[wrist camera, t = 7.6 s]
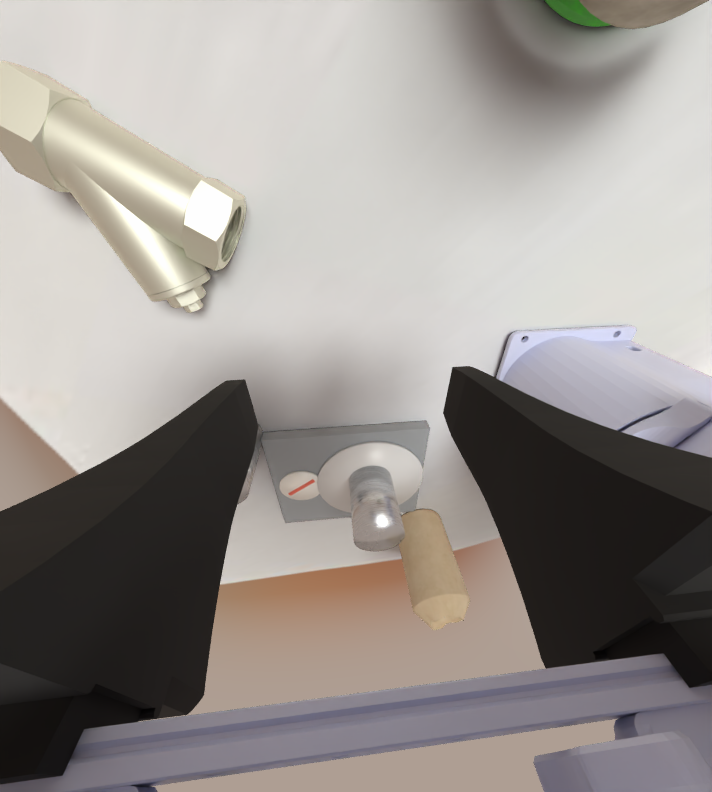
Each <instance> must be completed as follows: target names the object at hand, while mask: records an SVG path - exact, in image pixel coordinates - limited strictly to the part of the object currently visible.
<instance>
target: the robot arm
mask: <svg viewBox="0 0 712 792" xmlns="http://www.w3.org/2000/svg"><path fill="white" fill-rule="evenodd" d="M636 331H637V328H636V327H634V326H631V325H625V326H605V327H586V328H567V329H548V330H529V331H516V332H514V333H512V334H511V335H510V337H509V339H508V342H507V345H506V348H505V352H504V355H503V358H502V361H501V364H500V367H499V370H498V374H497V377H496V378H495V377H493V376H491V375H489V374H486V373H484V372H482V371H480V370H478V369H476V368H473V367H470V366H465V367H453V368H452V373H451V378H450V382H449V387H448V392H447V397H446V402H445V407H444V411H443V414H444V417H445V419H446V422H447V425H448V428H449V431H450V433H451V436H452V438H453V440H454V442H455V443H456V445H457V447H458V449H459V451H460V453H461V455H462V457H463V458H464V460H465V462H466V464H467V466H468V468H469V469H470V471H471V473H472V475H473V477H474V478H475V480H476V482H477V484H478V486H479V488H480V490H481V492H482V494H483V496H484V498H485V500H486V502H487V504H488V507H489V509H490V512H491V514H492V516H493V519H494V521H495V524H496V526H497V529H498V531H499V534H500V536H501V539H502V542H503V544H504V547H505V549H506V552H507V555H508V557H509V560H510V563H511V566H512V568H513V571H514V574H515V577H516V580H517V583H518V585H519V588H520V591H521V594H522V597H523V600H524V603H525V606H526V610H527V613H528V616H529V619H530V622H531V626H532V629H533V632H534V635H535V639H536V642H537V645H538V649H539V652H540V655H541V659H542V661H543V663H544V665H545V668H546V669H540V670H532V671H524V672H517V673H509V674H502V675H495V676H487V677H479V678H471V679H463V680H456V681H449V682H440V683H433V684H426V685H418V686H411V687H403V688H395V689H387V690H379V691H372V692H364V693H357V694H349V695H341V696H334V697H326V698H318V699H311V700H303V701H295V702H288V703H280V704H273V705H265V706H257V707H250V708H242V709H234V710H227V711H219V712H212V713H204V714H196V715H189V716H181V715H187V714H188V713H189V712H191V711H192V710H193V709H194V707H195V706H196V705H197V704H198V703H199V701H200V700H201V698H202V697H203V695H204V690H205V681H206V673H207V666H208V658H209V651H210V644H211V636H212V629H213V623H214V617H215V610H216V603H217V598H218V591H219V586H220V580H221V575H222V570H223V564H224V559H225V554H226V549H227V544H228V539H229V534H230V530H231V525H232V521H233V517H234V514H235V510H236V507H237V504H238V501H239V497H240V494H241V491H242V488H243V485H244V482H245V479H246V476H247V473H248V470H249V466H250V463H251V460H252V457H253V453H254V450H255V444H256V438H257V432H258V423H257V419H256V416H255V412H254V409H253V405H252V402H251V399H250V395H249V392H248V388H247V385H246V381H245V380H230V381H225V382H224V383H222V384H220V385H219V386H217V387H216V388H215V389H213V390H212V391H210V392H209V393H208V394H206V395H205V396H204V397H202V398H201V399H200V400H198V401H197V402H196V403H194V404H193V405H191V406H190V407H189V408H187V409H186V410H185V411H183V412H182V413H181V414H179V415H178V416H176V417H175V418H173V419H172V420H170V421H169V422H167V423H166V424H165V425H163V426H162V427H160V428H159V429H157V430H156V431H154V432H153V433H151V434H150V435H148V436H147V437H145V438H144V439H142V440H140V441H139V442H137V443H135V444H134V445H132V446H130V447H129V448H127V449H125V450H124V451H122V452H120V453H118V454H117V455H115V456H113V457H111V458H110V459H108V460H106V461H104V462H102V463H101V464H99V465H97V466H95V467H93V468H91V469H89V470H87V471H85V472H83V473H81V474H79V475H77V476H75V477H73V478H71V479H69V480H67V481H65V482H63V483H61V484H59V485H57V486H55V487H53V488H51V489H49V490H47V491H45V492H43V493H41V494H38V495H36V496H34V497H32V498H30V499H27V500H25V501H23V502H21V503H19V504H17V505H14V506H12V507H10V508H7V509H5V510H3V511H0V792H157V790H156V788H155V787H151V786H156V785H163V784H170V783H177V782H184V781H191V780H197V779H204V778H212V777H218V776H225V775H232V774H239V773H246V772H253V771H260V770H266V769H273V768H281V767H287V766H294V765H301V764H307V763H314V762H322V761H329V760H336V759H343V758H350V757H356V756H363V755H370V754H377V753H384V752H391V751H397V750H405V749H411V748H418V747H425V746H432V745H439V744H445V743H453V742H460V741H466V740H474V739H480V738H488V737H494V736H501V735H508V734H515V733H522V732H529V731H535V730H542V729H550V728H557V727H563V726H570V725H577V724H584V723H591V722H597V721H605V720H612V719H617V720H616V721H615V725H614V731H615V740H614V741H609V742H603V743H597V744H592V745H585V746H579V747H576V748H573V749H568V750H564V751H559V752H554V753H549V754H544V755H538V756H535V758H534V765H535V768H536V771H537V774H538V776H539V779H540V782H541V784H542V787H543V790H544V792H712V377H711V376H708V375H706V374H704V373H702V372H700V371H697V370H695V369H693V368H691V367H688V366H686V365H684V364H682V363H680V362H677V361H675V360H673V359H671V358H669V357H666V356H664V355H662V354H660V353H657V352H655V351H653V350H651V349H649V348H646V347H644V346H642V345H640V344H637V343H635V342H633V341H631V340H632V339H633V337H634V335H635V334H636ZM614 333H615V334H614ZM524 336H525V338H524V339H523V340H521V339H522V338H523V337H524ZM173 716H181V717H173ZM165 717H173V718H166V719H158V720H151V719H157V718H165ZM143 720H151V721H143ZM138 721H143V722H138Z"/></svg>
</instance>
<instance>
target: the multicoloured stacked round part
mask: <svg viewBox="0 0 712 792" xmlns="http://www.w3.org/2000/svg"><path fill="white" fill-rule="evenodd" d="M544 1H545V2H546V3H547V4H548V5H549V6H550V7H551V8H552V9H553V10H554V11H555V12H557V13H558V14H559V15H560V16H562V17H564V18H565V19H567V20H569V21H571V22H574V23H577V24H580V25H584V26H593V27H599V26H609V25H613V26H615V27H621V28H628V29H636V28H646V27H650V26H653V25H657V24H660V23H664V22H666V21H668V20H670V19H673V18H675V17H677V16H680V15H682V14H684V13H686V12H688V11H690V10H691V9H693V8H695V7H697V6H699V5H701V4H703V3H705V2H707V1H709V0H544Z"/></svg>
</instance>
